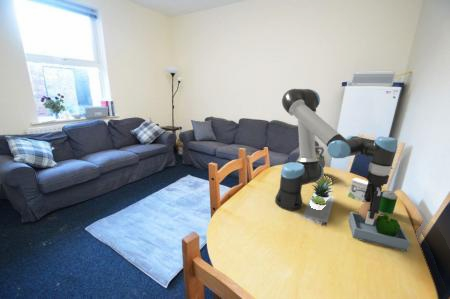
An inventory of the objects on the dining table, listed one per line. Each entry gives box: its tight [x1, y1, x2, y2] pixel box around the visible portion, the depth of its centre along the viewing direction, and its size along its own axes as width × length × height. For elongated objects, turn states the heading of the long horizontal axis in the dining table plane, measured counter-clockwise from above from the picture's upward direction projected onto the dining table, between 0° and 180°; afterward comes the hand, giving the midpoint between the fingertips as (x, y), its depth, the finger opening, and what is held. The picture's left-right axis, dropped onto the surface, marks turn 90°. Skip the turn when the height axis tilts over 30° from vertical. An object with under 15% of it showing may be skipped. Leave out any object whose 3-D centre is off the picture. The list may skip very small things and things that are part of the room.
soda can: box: [379, 189, 398, 216], centre depth 112 cm, size 8×8×12 cm
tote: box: [348, 211, 411, 252], centre depth 95 cm, size 20×15×5 cm
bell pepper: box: [376, 212, 401, 237], centre depth 93 cm, size 8×8×10 cm
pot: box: [295, 145, 326, 169], centre depth 158 cm, size 21×21×25 cm
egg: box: [358, 202, 380, 220], centre depth 94 cm, size 7×7×8 cm
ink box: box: [347, 177, 368, 203], centre depth 126 cm, size 9×5×12 cm, turn 39°
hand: (367, 218), depth 96 cm, fingers closed on egg, 7 cm apart
